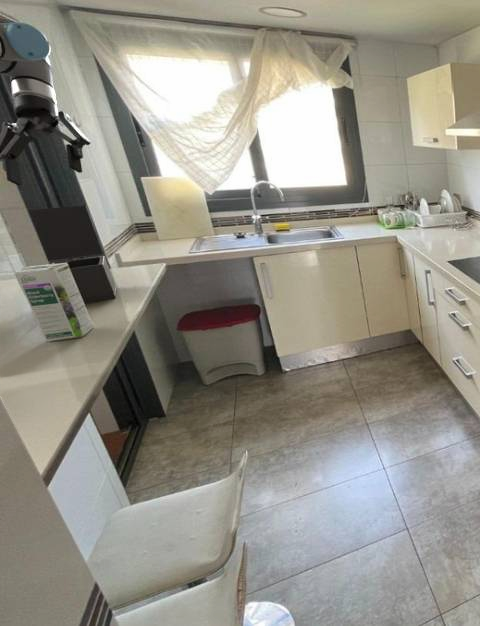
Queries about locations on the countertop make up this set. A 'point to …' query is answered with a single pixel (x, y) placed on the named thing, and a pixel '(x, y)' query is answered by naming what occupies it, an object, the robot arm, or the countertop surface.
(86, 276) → the dark brown box
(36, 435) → the countertop surface
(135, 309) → the countertop surface
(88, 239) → the lid
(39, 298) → the syrup box
